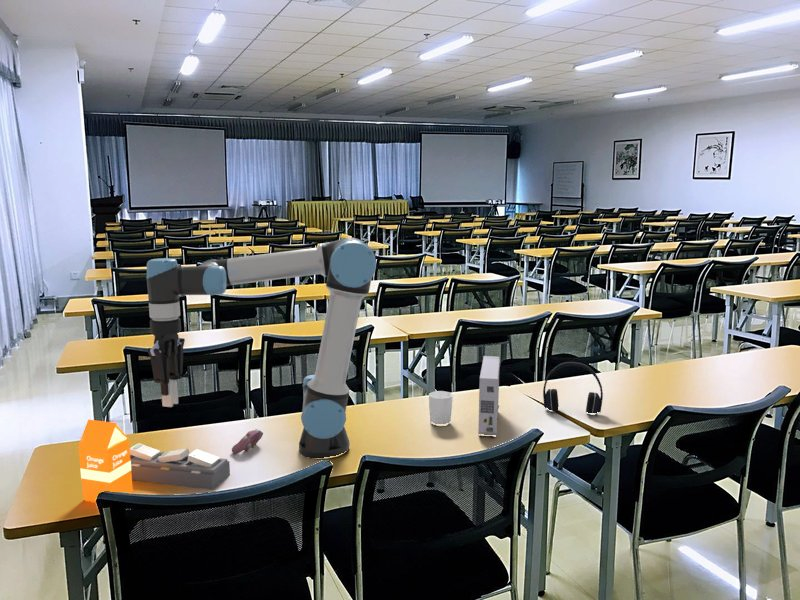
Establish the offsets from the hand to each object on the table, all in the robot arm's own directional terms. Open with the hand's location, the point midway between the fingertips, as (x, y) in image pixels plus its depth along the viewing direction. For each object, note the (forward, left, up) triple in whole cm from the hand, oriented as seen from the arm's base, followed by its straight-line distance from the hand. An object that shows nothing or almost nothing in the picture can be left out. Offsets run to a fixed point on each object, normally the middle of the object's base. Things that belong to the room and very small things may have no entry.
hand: (170, 404), depth 168 cm
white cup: (-63, -57, -21) cm, 87 cm away
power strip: (0, 0, -20) cm, 20 cm away
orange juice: (+10, +14, -21) cm, 27 cm away
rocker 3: (-9, 0, -14) cm, 17 cm away
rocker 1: (+9, 0, -14) cm, 17 cm away
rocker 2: (0, 0, -14) cm, 14 cm away
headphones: (-106, -78, -21) cm, 133 cm away
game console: (-79, -60, -21) cm, 101 cm away
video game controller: (-11, -22, -21) cm, 32 cm away
